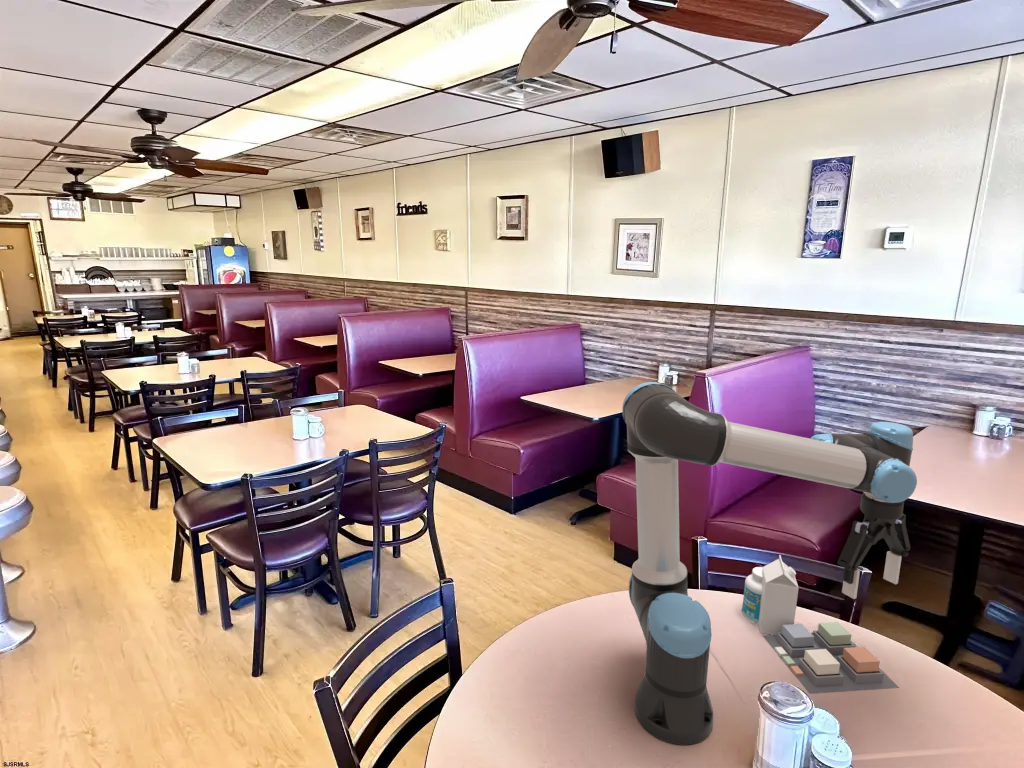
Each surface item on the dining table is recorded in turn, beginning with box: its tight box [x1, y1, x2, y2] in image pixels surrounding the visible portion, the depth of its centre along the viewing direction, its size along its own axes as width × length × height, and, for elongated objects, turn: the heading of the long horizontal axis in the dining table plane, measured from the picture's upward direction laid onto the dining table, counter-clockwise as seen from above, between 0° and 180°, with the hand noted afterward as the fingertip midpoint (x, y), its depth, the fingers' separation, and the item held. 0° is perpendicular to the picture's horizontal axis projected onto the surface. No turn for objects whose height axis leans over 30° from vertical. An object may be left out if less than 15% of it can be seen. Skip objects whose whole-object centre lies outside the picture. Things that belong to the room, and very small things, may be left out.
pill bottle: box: [741, 566, 764, 624], centre depth 143 cm, size 8×7×14 cm
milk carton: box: [757, 554, 800, 635], centre depth 138 cm, size 7×7×19 cm
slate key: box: [782, 623, 814, 647], centre depth 131 cm, size 5×5×2 cm
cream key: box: [804, 649, 840, 675], centre depth 122 cm, size 5×5×2 cm
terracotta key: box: [843, 646, 881, 672], centre depth 123 cm, size 5×5×2 cm
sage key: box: [817, 621, 852, 645], centre depth 132 cm, size 5×5×2 cm
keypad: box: [762, 629, 900, 695], centre depth 128 cm, size 20×19×3 cm
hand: (870, 588), depth 122 cm, fingers open, 13 cm apart
